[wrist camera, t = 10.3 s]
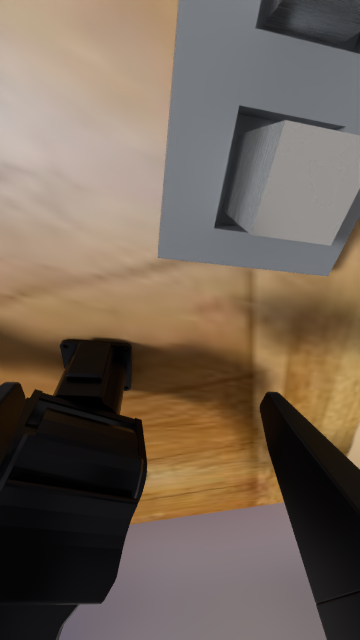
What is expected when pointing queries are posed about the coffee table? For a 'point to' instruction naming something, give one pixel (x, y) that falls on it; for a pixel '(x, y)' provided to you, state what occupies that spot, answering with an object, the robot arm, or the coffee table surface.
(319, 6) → the block
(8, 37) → the coffee table surface
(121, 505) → the robot arm
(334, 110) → the pallet
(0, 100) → the coffee table surface
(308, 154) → the billet
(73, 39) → the coffee table surface
